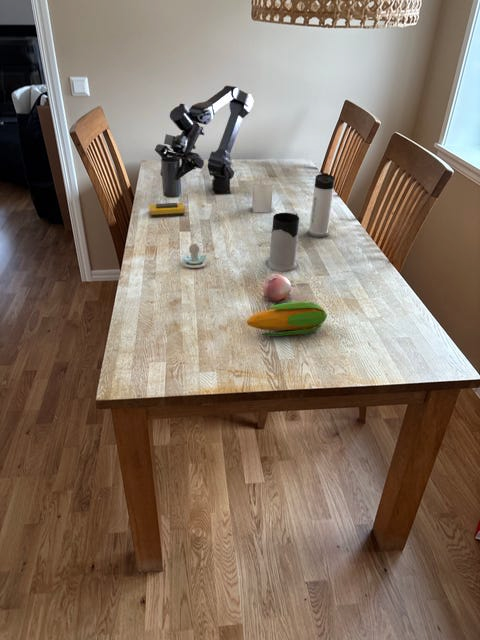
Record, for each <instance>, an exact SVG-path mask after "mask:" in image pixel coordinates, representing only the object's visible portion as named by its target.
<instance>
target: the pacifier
mask: <svg viewBox="0 0 480 640" xmlns="http://www.w3.org/2000/svg"><path fill="white" fill-rule="evenodd" d="M188 251H189V253H190V255H187V254H182V255H181V257H182V260H183V261H184V263H183V266H184V267H185V268H189V269H199V268H204V267H205V266H206V263H205V261H206V259H207V254H202V255H199V252H200V246H199V245H198V244H197V243H192V244H190V245H189V247H188Z"/></svg>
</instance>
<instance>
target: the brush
mask: <svg viewBox="0 0 480 640" xmlns="http://www.w3.org/2000/svg"><path fill="white" fill-rule="evenodd" d="M149 212H150V215H151V218H165V217H167V218H168V217H183V216H185V212H186V211H185V206H184V204H183V202H168V203H167V202H166V203H155V204H149Z"/></svg>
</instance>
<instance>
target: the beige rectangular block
mask: <svg viewBox="0 0 480 640" xmlns="http://www.w3.org/2000/svg"><path fill="white" fill-rule="evenodd" d="M252 188H253V189H252V202H251V203H252V204H251V210H252V213H272V205H273V203H272V202H273V184H272V183H253V187H252Z"/></svg>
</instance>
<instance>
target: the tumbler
mask: <svg viewBox="0 0 480 640" xmlns="http://www.w3.org/2000/svg"><path fill="white" fill-rule="evenodd" d="M180 166H181V159H179V158H177V157H165V158H160V170H161V169H162V176H161V183H162V184H161V185H162V194H163V196H164V197H165V198H169V199H175V198H179V197H182V177H181V178H180V179H178V180H176V179H175V177H176V174H177V172H178V170H179V168H180Z"/></svg>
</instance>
